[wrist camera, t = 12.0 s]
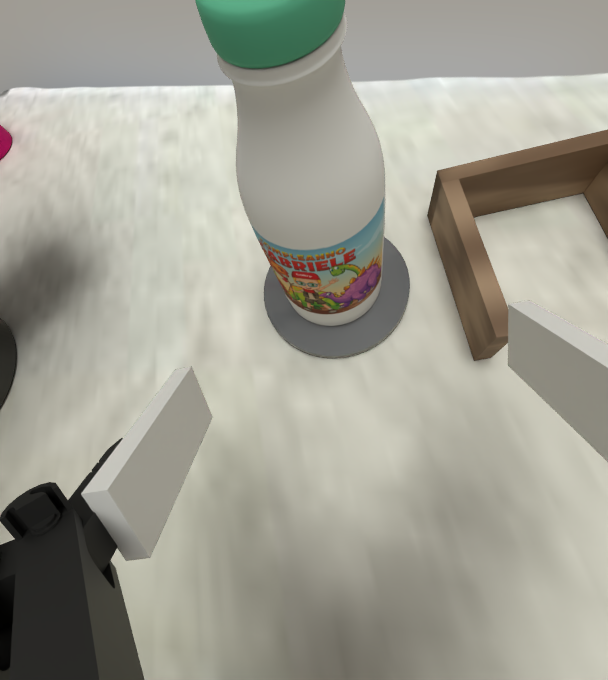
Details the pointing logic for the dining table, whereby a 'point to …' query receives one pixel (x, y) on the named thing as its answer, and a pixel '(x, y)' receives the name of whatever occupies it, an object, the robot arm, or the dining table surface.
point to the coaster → (349, 335)
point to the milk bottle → (304, 151)
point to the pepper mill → (4, 141)
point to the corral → (498, 195)
